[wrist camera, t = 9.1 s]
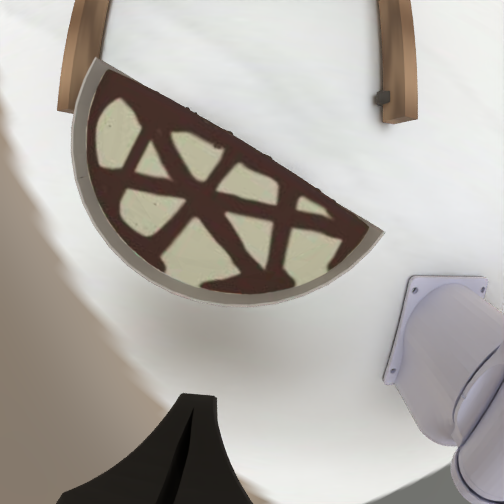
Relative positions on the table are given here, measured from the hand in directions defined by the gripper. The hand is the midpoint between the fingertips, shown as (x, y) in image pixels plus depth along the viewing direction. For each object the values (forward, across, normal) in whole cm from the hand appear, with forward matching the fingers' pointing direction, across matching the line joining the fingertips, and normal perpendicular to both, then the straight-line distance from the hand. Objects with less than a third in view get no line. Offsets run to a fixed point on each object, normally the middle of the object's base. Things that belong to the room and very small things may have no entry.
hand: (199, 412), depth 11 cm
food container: (+11, 0, -8) cm, 13 cm away
